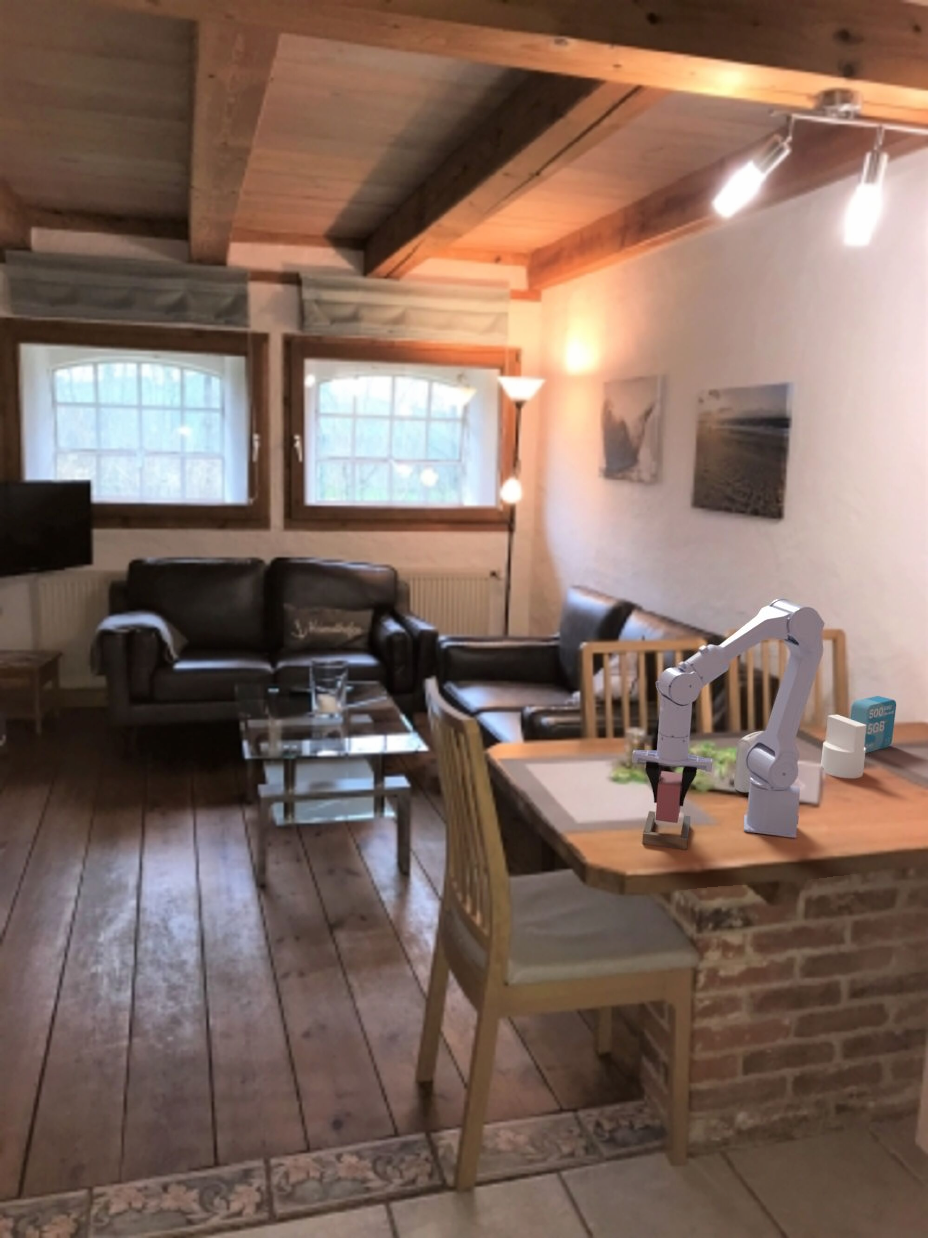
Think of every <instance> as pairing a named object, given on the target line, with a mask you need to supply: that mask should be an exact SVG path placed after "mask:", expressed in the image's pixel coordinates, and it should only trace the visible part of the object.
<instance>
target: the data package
mask: <svg viewBox="0 0 928 1238" xmlns="http://www.w3.org/2000/svg"><path fill="white" fill-rule="evenodd" d="M896 709H897V702H896V700H895V699H891V698H889V697H888V698H887V697H883V696H880V695H876V696H875V695H874V696H872V697H867V698H862V699H858V700H855V701H853V702H852V705H851V708H850V716H849V719H851V720H854V721H857V722H859V723H862V724H865V725H867V726H866V735H865V744H864V747H865V748H866V751H865V754H868V753H871V752H874V751H878V750H882V749H885V748H888V747H890V746H891V745H892V742H893V735H894V727H895V726H894V725H895V720H896Z"/></svg>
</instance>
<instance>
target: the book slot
mask: <svg viewBox="0 0 928 1238" xmlns="http://www.w3.org/2000/svg"><path fill="white" fill-rule="evenodd" d="M655 818H656V811H653V810H649V811H648V814H647V817H646V821H645V824H644V827H643V832H642V839H641V840H642V843H641V844H643V845H644V844H645V845H648V846H658V847H664V848H672V849H678V850H684V851H685V850H687V845H688V841H689V840H688V838H689V834H690V827H691V815H684V816H683V820H682V824H681V832H680V835H678V834H677V835H676V834H668V833H662V832H653V829H654V825H655V821H656V820H655Z"/></svg>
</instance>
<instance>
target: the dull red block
mask: <svg viewBox="0 0 928 1238" xmlns="http://www.w3.org/2000/svg"><path fill="white" fill-rule="evenodd" d="M681 788H682V773H681V772H673V771H664V770H661V771H660V776H659V782H658V791H657V803H656V804H655V805H656V808H655V821H657V822H664V823H665V822H667V823H673V824H678V823H679V818H680V817H679V816H680V812H681V806H679V803H680V795H681Z"/></svg>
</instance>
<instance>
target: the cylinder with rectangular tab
mask: <svg viewBox="0 0 928 1238" xmlns="http://www.w3.org/2000/svg"><path fill="white" fill-rule="evenodd" d="M866 726H867V725H865V724H862V723H859V722H857V721H854V720H851V719H850V718H849V717H846V716H842V715H840V714H831V715H828V716H827V723H826V730H825V731H826V733H825V741H823V743H822V752H821V753H822V754H821V762H820V767H821V766H822V767H823V768H824V771H825V773H824V774H826V775H829V776H832V777H834V778H835V777H837V778H840V779H841V778H842V779H857V778H862V776H863V775H864V766H865V757H866V753H865V751H866V748H865V747H864V744H865V735H866Z"/></svg>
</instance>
